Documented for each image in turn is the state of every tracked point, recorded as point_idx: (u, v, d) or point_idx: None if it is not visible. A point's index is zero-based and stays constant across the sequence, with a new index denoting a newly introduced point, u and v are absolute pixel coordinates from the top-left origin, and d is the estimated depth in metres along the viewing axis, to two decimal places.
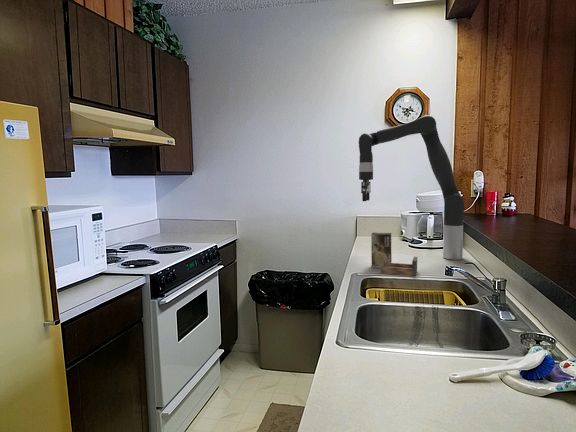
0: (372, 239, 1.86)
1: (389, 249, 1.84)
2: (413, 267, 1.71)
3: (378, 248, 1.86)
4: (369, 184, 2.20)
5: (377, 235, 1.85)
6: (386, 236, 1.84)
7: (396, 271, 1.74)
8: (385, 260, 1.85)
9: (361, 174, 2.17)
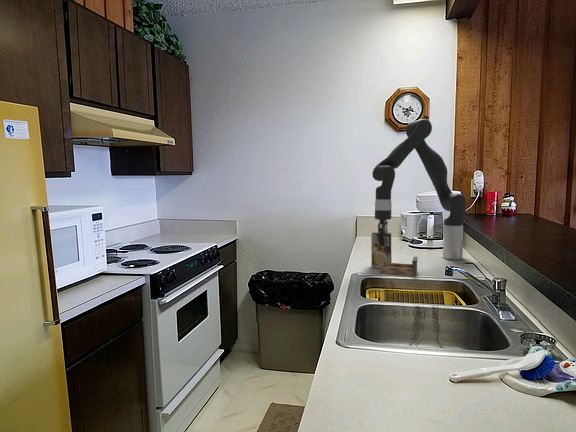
0: (372, 239, 1.86)
1: (389, 249, 1.84)
2: (413, 267, 1.71)
3: (378, 248, 1.86)
4: (386, 224, 1.87)
5: (377, 235, 1.85)
6: (386, 236, 1.84)
7: (396, 271, 1.74)
8: (385, 260, 1.85)
9: (377, 213, 1.84)
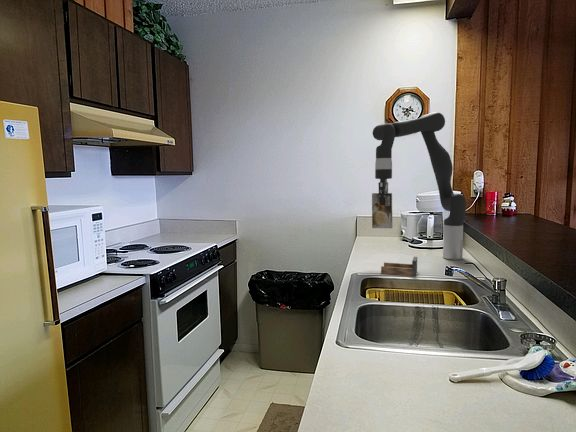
0: (373, 199, 1.85)
1: (390, 208, 1.83)
2: (413, 267, 1.71)
3: (378, 208, 1.84)
4: None
5: None
6: (387, 195, 1.82)
7: (396, 271, 1.74)
8: (386, 220, 1.84)
9: (378, 172, 1.83)
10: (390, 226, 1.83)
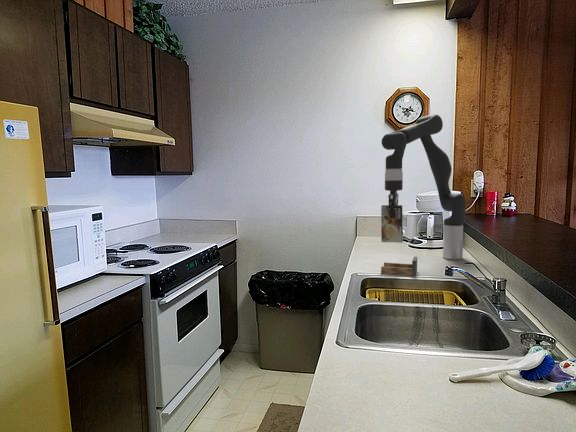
0: (382, 211, 1.75)
1: (400, 221, 1.73)
2: (413, 267, 1.71)
3: (388, 221, 1.75)
4: (397, 195, 1.76)
5: (387, 207, 1.74)
6: (397, 208, 1.73)
7: (396, 271, 1.74)
8: (396, 233, 1.74)
9: (388, 183, 1.73)
10: (400, 240, 1.74)
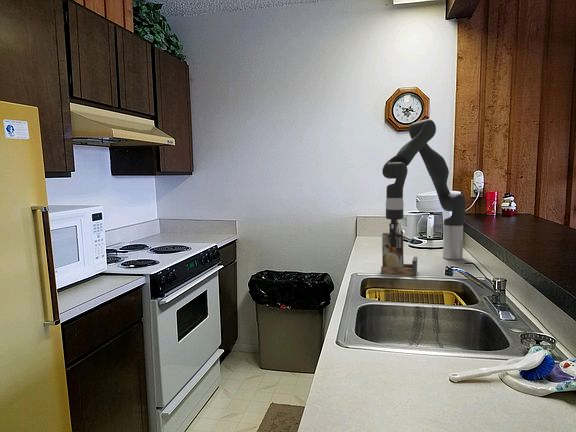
0: (383, 240, 1.76)
1: (401, 250, 1.74)
2: (413, 267, 1.71)
3: (389, 249, 1.76)
4: (398, 224, 1.77)
5: (388, 236, 1.76)
6: (398, 237, 1.74)
7: (396, 271, 1.74)
8: (397, 262, 1.75)
9: (389, 212, 1.75)
10: None
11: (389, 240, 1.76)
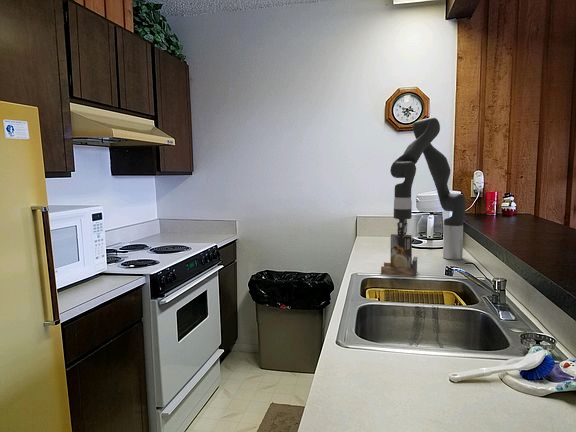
0: (391, 241, 1.75)
1: (409, 252, 1.73)
2: (413, 267, 1.71)
3: (397, 251, 1.75)
4: None
5: (397, 237, 1.74)
6: (406, 238, 1.73)
7: (396, 271, 1.74)
8: (406, 264, 1.74)
9: (397, 212, 1.73)
10: None
11: (397, 242, 1.74)
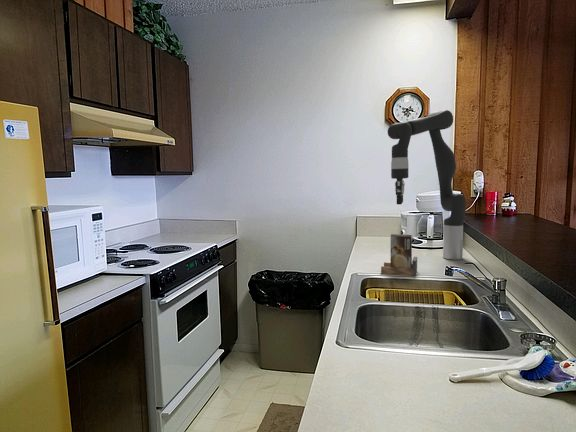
0: (391, 241, 1.75)
1: (409, 252, 1.73)
2: (413, 267, 1.71)
3: (397, 251, 1.75)
4: (403, 183, 1.82)
5: (397, 237, 1.74)
6: (406, 238, 1.73)
7: (396, 271, 1.74)
8: (406, 264, 1.74)
9: (394, 172, 1.80)
10: None
11: (397, 242, 1.74)
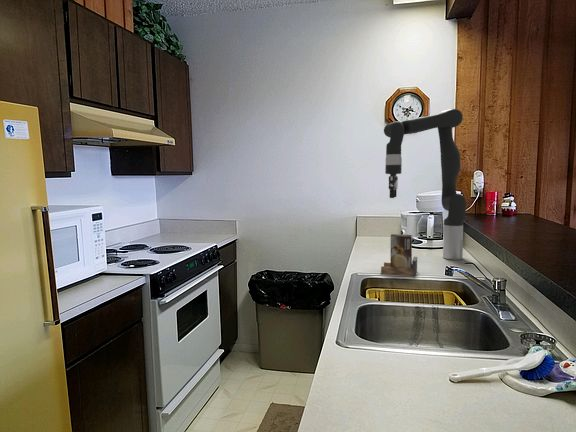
0: (391, 241, 1.75)
1: (409, 252, 1.73)
2: (413, 267, 1.71)
3: (397, 251, 1.75)
4: (397, 179, 1.95)
5: (397, 237, 1.74)
6: (406, 238, 1.73)
7: (396, 271, 1.74)
8: (406, 264, 1.74)
9: (388, 167, 1.93)
10: None
11: (397, 242, 1.74)
